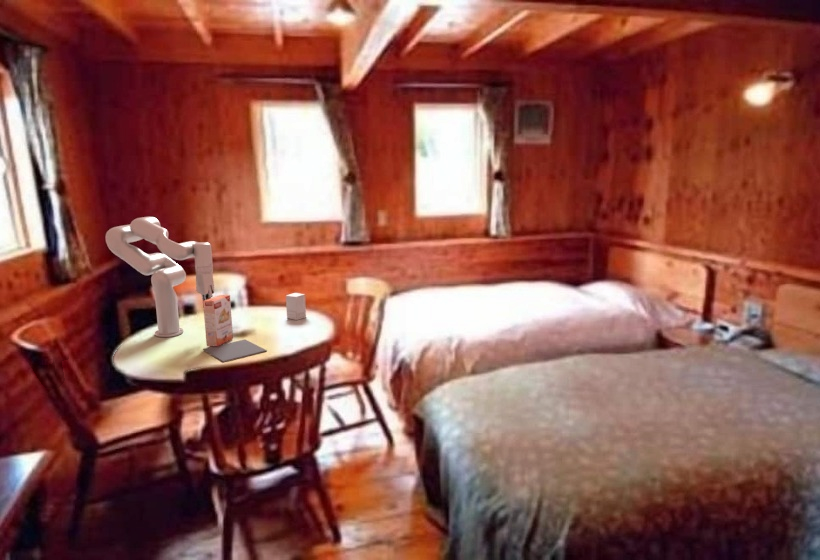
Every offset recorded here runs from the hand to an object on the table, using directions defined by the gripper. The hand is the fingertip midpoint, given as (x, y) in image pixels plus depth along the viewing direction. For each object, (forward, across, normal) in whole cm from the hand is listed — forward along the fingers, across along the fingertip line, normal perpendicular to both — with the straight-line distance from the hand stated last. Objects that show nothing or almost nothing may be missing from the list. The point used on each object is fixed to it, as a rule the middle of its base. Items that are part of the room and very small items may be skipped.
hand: (207, 307), depth 262 cm
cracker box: (+14, +12, 0) cm, 19 cm away
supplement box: (+15, -1, +48) cm, 50 cm away
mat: (+14, +26, 0) cm, 30 cm away
